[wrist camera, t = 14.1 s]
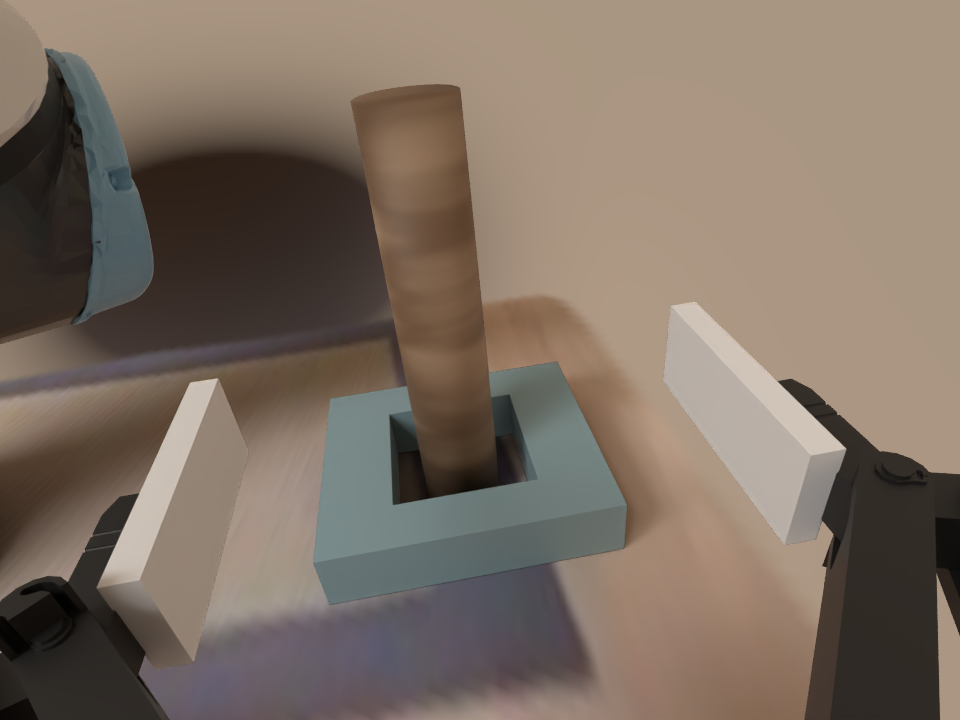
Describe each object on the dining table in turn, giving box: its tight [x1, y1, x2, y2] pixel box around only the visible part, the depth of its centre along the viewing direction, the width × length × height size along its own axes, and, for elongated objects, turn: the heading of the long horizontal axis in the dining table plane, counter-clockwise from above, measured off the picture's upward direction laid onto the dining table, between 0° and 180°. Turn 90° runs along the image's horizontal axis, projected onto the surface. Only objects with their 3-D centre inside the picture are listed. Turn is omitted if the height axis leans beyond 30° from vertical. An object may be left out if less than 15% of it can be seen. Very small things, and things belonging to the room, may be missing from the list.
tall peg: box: [351, 84, 500, 499], centre depth 27 cm, size 4×4×20 cm
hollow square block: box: [313, 362, 627, 605], centre depth 32 cm, size 12×14×3 cm
